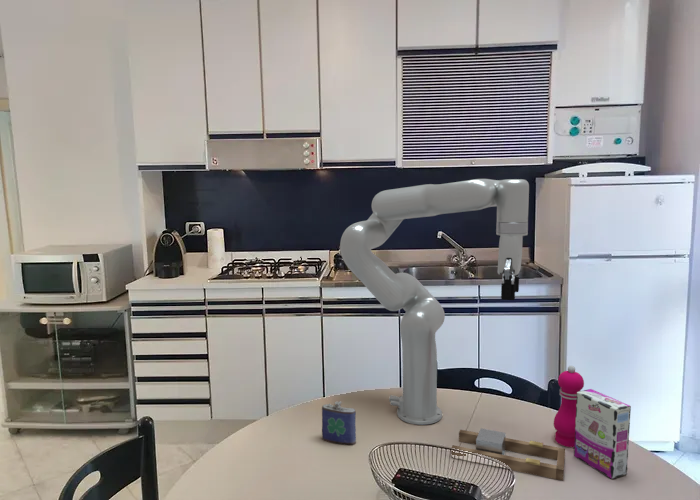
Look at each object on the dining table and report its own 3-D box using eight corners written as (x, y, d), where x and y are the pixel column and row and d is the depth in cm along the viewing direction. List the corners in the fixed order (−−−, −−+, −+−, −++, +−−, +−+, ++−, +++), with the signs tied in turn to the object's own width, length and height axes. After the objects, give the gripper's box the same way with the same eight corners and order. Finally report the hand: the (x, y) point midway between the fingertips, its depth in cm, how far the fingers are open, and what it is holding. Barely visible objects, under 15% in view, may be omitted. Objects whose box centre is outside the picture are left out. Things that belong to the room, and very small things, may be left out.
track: (451, 457, 126) (451, 446, 126) (460, 438, 135) (460, 427, 135) (563, 480, 116) (563, 468, 116) (564, 458, 125) (565, 446, 125)
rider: (475, 458, 126) (476, 439, 125) (480, 447, 131) (480, 428, 130) (501, 464, 123) (502, 444, 123) (505, 451, 129) (505, 432, 128)
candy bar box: (628, 474, 118) (632, 405, 116) (612, 480, 116) (616, 410, 114) (588, 451, 128) (591, 387, 126) (572, 456, 126) (575, 391, 124)
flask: (357, 441, 134) (356, 401, 133) (353, 447, 132) (352, 406, 130) (324, 435, 138) (323, 396, 136) (319, 440, 135) (318, 401, 134)
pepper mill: (586, 449, 129) (590, 371, 126) (555, 447, 130) (558, 370, 127) (580, 435, 136) (583, 361, 133) (550, 433, 137) (553, 360, 134)
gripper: (501, 225, 141) (499, 287, 143) (491, 232, 125) (490, 302, 127) (530, 226, 138) (528, 289, 140) (524, 232, 122) (522, 304, 125)
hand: (510, 295), depth 134 cm, fingers open, 9 cm apart
